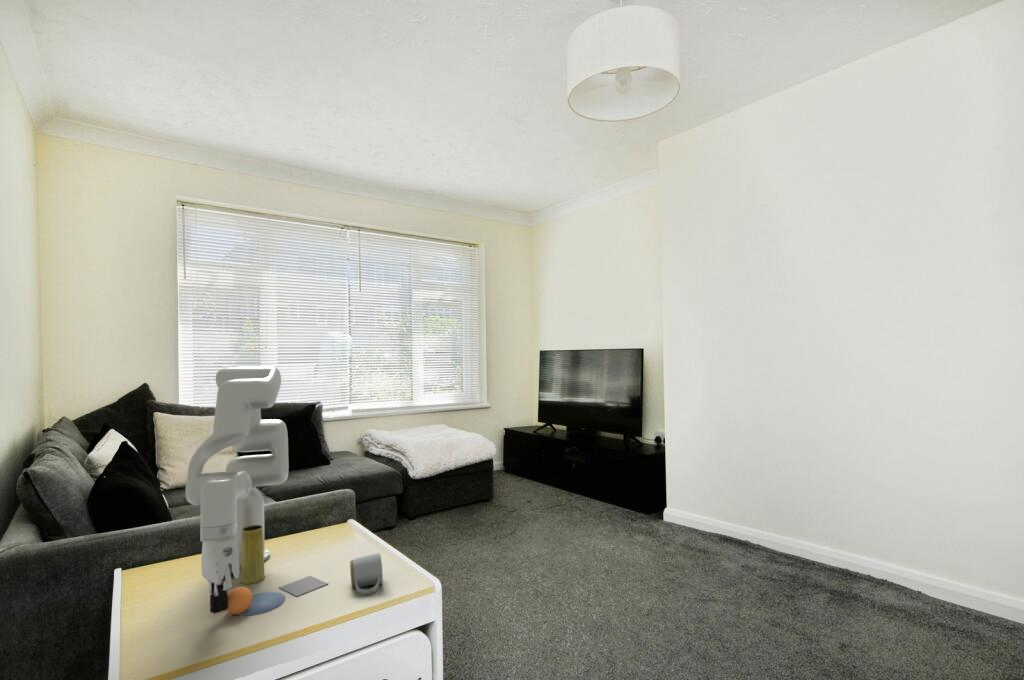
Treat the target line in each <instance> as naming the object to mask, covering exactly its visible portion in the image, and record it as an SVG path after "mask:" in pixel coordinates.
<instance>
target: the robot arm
mask: <svg viewBox="0 0 1024 680" xmlns="http://www.w3.org/2000/svg"><path fill="white" fill-rule="evenodd" d="M215 383H216V386H217V389H218V390H217V394H216V402H215V403H216V404H215V411H214V420H213V429H212V433H211V434H210V436H209V437H207V439H205V440H204V441H202V443H201V444H200V445H199V446H198V448H197V449H196V450H195V451H194V453H193V454H192V456H191V459H190V461H189V463H188V467H187V475H186V483H185V497H186V500H187V502H188V503H190V504H191V505H194V506H200V530H199V531H200V532H199V533H200V534H199V535H200V542H201V543H202V547H201V561H200V562H201V575H202V578H204V579H205V580H206V581H207V582H208V584H209V585H208V588H209V594H210V596H209V597H210V598H209V599H210V600H209V604H210V605H209V611H210V613H211V614H214V615H215V614H218V613H221V612H223V611H227V610H226V609H227V608H228V593H229V590H230V589H232V587H233V586H232V579H233V580H234V581H235V580H239V578H240V568H241V561H242V529H243V528H244V527H247V526H252V525H261V526H263V560H264V562H265V561H266V560H268V559H270V556H271V551H270V550H269V549H267V548H265V547H266V546H265V499H264V496H263V495H262V493H261V492H260V491H259V490H258V489H257V487H265V486H274V485H275V486H276V485H281V484H283V483H285V482H287V480H288V477H289V467H290V465H289V464H290V463H289V437H288V429H287V425H286V423H285V422H284V421H283V420H281V419H276V418H274V419H272V418H270V419H262V413H261V411H262V410H261V409H270V408H272V407H273V406H274V405H275V403H276V401H277V398H278V395H279V391H280V388H281V383H282V375H281V372H280V370H279V369H278V368H277V367H275V366H270V365H269V366H267V365H265V366H262V365H261V366H232V367H231V366H230V367H225V368H221V369H219V370H217V372H216V374H215ZM229 447H231V448H232V450H234V451H235V452H238V453H252V452H253V453H254V452H264V451H265V452H266V451H269V452H271V453H267V454H251V455H250V454H249V455H242V456H236V457H233V458H232V459H230V460H229V461H228V463H227V464H226V467H225V471H217V472H207V473H205V472H204V473H203V470H204V467H205V465H206V463H207V462H208V461H209V459H211V458H212V457H213V456H215V455H216V454H218V453H219V452H221V451H223V450H225V449H227V448H229Z"/></svg>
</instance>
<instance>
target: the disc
mask: <svg viewBox="0 0 1024 680" xmlns="http://www.w3.org/2000/svg"><path fill="white" fill-rule="evenodd" d="M252 597H253V599H252V603H251V605H250V607H249V608H248V609H247V610H246V611H245V612H243V613H241V614H237V615H236V616H247V617H248V616H255V615H261V614H265V613H268V612H270V611H272V610H275V609H277V608H279V607H280V606H282V604H284V603H285V601H286V596H285V595H284V594H283V593H281V592H277V591H265V592H264V591H263V592H259V593H255V594H252Z"/></svg>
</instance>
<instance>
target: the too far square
mask: <svg viewBox="0 0 1024 680" xmlns="http://www.w3.org/2000/svg"><path fill="white" fill-rule="evenodd" d="M327 585H329V583H328V582H326V581H323V580H321V579H318V578H316V577H314V576H311V575H308V576H305V577H303V578H300V579H298V580H295V581H292V582H290V583H288V584H285V585H284V584H283V585H282V586H279V587H278V589H279V590H280V589H281V590H282V591H284V592H286V593H288V594H290V595H292V596H294V597H296V598H297V597H300V596H303V595H305V594H308V593H310V592H312V591H315V590H318V589H320V588H323V587H325V586H327Z"/></svg>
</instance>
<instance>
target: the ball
mask: <svg viewBox="0 0 1024 680" xmlns="http://www.w3.org/2000/svg"><path fill="white" fill-rule="evenodd" d="M252 595H253V593H252V592H251V590H250V589H249V588H247V587H245V586H238V587H235V588H233V589H232V590H229V591H228V608H227V609H226V610H225V611H226V612H228V613H229V614H231V615H235V616H238V615H237V614H241V613H243V612H245V611H246V610H247V609H248V608H249V607H250V605H251V603H252V599H253V597H252Z"/></svg>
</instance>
